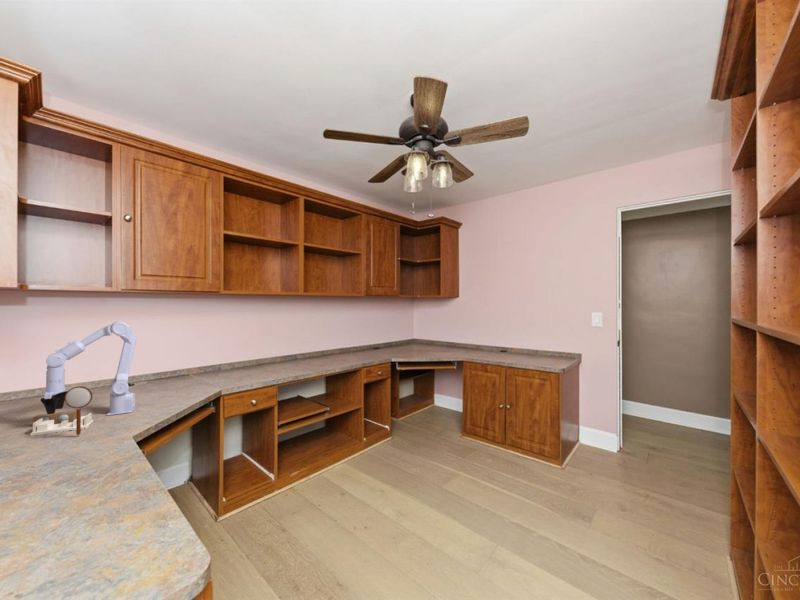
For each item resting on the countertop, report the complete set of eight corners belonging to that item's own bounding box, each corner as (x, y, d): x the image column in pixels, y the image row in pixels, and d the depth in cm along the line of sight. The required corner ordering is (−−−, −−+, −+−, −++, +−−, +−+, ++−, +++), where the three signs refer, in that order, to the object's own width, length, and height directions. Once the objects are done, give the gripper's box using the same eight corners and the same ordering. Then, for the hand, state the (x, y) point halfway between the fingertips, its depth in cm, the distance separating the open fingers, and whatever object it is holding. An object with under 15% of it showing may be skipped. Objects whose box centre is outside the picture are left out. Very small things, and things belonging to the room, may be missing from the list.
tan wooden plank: (76, 419, 153) (76, 410, 153) (73, 422, 149) (73, 412, 149) (37, 424, 147) (37, 414, 147) (32, 427, 144) (32, 417, 144)
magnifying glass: (93, 434, 136) (93, 384, 136) (90, 435, 134) (91, 385, 134) (65, 437, 133) (66, 386, 133) (63, 438, 131) (63, 387, 131)
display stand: (93, 421, 150) (93, 411, 150) (85, 428, 142) (85, 418, 142) (41, 428, 142) (41, 417, 142) (30, 435, 134) (30, 424, 134)
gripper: (50, 378, 153) (50, 407, 153) (34, 384, 140) (34, 417, 140) (71, 376, 156) (71, 405, 156) (57, 383, 143) (56, 415, 143)
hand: (55, 411), depth 148 cm, fingers open, 7 cm apart
